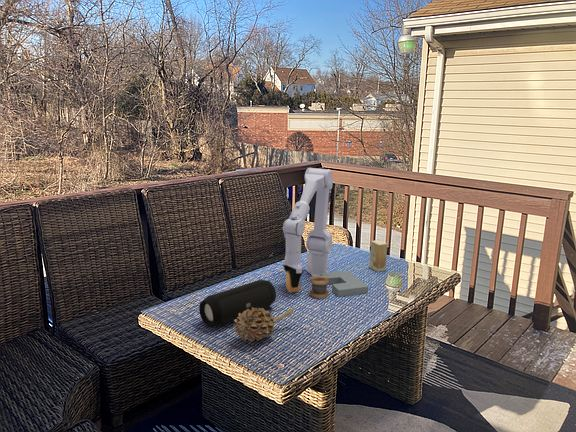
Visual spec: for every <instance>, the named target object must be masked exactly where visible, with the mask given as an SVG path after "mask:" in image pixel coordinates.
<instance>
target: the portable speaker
mask: <svg viewBox="0 0 576 432" xmlns="http://www.w3.org/2000/svg"><path fill="white" fill-rule="evenodd" d="M276 298H277V291H276V288H275V286H274V284H273V283H272V282H271V281H269V280H268V279H258V280H255V281H251V282H248V283H245V284H242V285H239V286H236V287H232V288H228V289H227V290H223V291H219V292H216V293H214V294H209V295H208V296H206V297H205V298H204V299H203V300H201V301H200V303H199V305H198V308H199V315H200V318H201V320H202V322H203V323H204V324H205V326H207V327H220V326H223V325H224V324H227V323H230V322H233V321H234V320H235V319H237V317H239V313H243V312H244V311H246V310H247V309H249V310H251V309H252V307H253V308H257V310H258V309H259V308H260V309H262V308H263V309H267V308H269V307H271V306H272V305H273V304H274V303H275V301H276Z"/></svg>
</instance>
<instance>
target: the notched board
mask: <svg viewBox="0 0 576 432" xmlns="http://www.w3.org/2000/svg"><path fill="white" fill-rule="evenodd" d="M328 272H329V273H320V276H325V277H328V278H329V283H328V284H327V285H331V286H332V287H331V291H332V292H333V293H334V294H335V295H336V296H337V297H346V296H354V295H362V294H363V293H364V294H369V285H367V284H366V283H364V282H363V281H362V280H361V279H360V278H358V277H357V276H355V275H354V274H353V273H352V272H350V271H349V270H340V271H331V272H330V271H328Z"/></svg>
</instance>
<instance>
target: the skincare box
mask: <svg viewBox="0 0 576 432" xmlns="http://www.w3.org/2000/svg"><path fill="white" fill-rule="evenodd" d="M370 243H371V244H370V254H369V268H370V269H372V270H373V271H376V272H377V273H378V272H383V271H384V272H385V271H386V268H387V267H386V266H387V255H388V254H387V253H388V245H389V244H388V243H387V242H385V241H382V240H380V239H377V240H371V242H370Z"/></svg>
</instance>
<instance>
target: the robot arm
mask: <svg viewBox="0 0 576 432" xmlns="http://www.w3.org/2000/svg"><path fill="white" fill-rule="evenodd" d="M304 182H305V183H304V186H303V190H302V194H301V196H300V200H299V201H297V202H295V203H294V206H293V208H292V211H291V213H290V215H289V218H287V219H285V220H284V222H283V226H282V231H283V235H284V236H283V237H284V239H285V256H284V261H282V266H283V269H284V272H286V271H288V272H289V274H290V278H291V285H292V288H295V287H298V284H299V280H300V281H301V277H302V275H303V273H304V271H305V270H306V271H307V273H308V274H310V276H311V277H313V276H320V273H329V272H330V271H329V270H328V261H329V260H328V259H329V256H328V254H330V253H331V251H332V249H333V246H334V245H333V235H332V234H331V232H329V230H327V223H328V210H329V208H328V207H329V198H330V190H332V189H333V184H334V174H333V172H332V170H331V169H329V168H328V169H326V168H316V167H315V168H313V167H308V168H307V169H306V170H305V172H304ZM314 195H316V196H315V207H314V208H315V210H314V219H313V220H314V222H313V223H314V224H313V229H311V230H310V231H309V232H307V238H306V241H305V247H306V249H307V250H308V253H307V267H305V270H304V269H303V267H302V235H303V234H304V232H305V228H306V227H305V226H306V219H307V217H308V214H309V212H310V210H311V208H310V206H309V205H310V202H311V201H312V199H313V197H314Z"/></svg>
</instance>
